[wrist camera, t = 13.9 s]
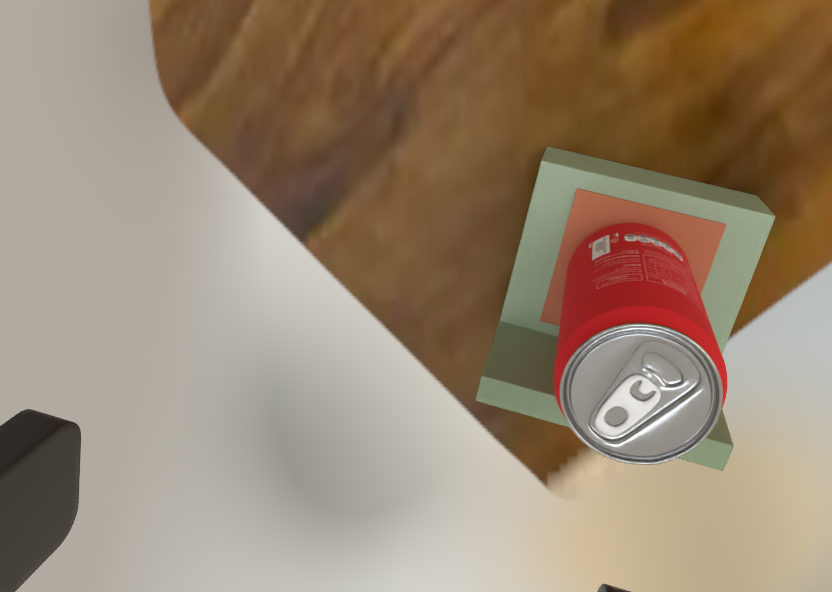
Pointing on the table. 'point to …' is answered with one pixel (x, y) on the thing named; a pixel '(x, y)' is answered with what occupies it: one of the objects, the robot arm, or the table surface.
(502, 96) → the table surface
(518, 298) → the shelf stand
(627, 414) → the beverage can
